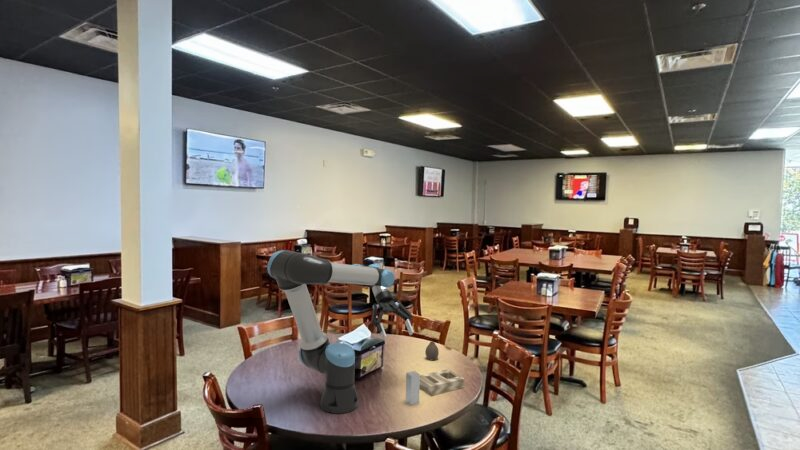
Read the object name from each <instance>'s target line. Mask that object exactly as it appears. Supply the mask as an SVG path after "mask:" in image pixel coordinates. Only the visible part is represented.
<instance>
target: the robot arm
mask: <svg viewBox="0 0 800 450" xmlns="http://www.w3.org/2000/svg"><path fill="white" fill-rule="evenodd" d="M266 268H267V273H268V275H269V276H270V277H271V278H272V279H275V281H276V283H277V287H278V288H279V290H280V291H282V292H284V293H285V297H286V299H287V301H288V304H289V307H290V310H291V312H292V315H293V318H294V321H295V323H296V327H297V329H298V332H299V335H300V338H301V340H300V343H299V346H300V347H299V350H298V358H299V361H300V362H301V363H302V364H303V365H304V366H306V367H307V368H309V369H312V370H314V371H316V372H318V373H321V374H323V375H324V388H323V391H322V394H321V397H320V401H319V402H320V403H319V404H320V409H321V410H323V411H325V412H326V411H327V413H329V412H331V414H346V413H350V412H352V411H354V410H356V409H357V408H358V406H359V396H358V393H357V390H356V385H355V377H356V375H355V374H356V373H355V372H356V371H355V358H356V352H355V350H354V349H355V348H353V347H352V346H351V345H350V344H347V343H341V342H333V343H330V340H329V338H328V334H327V333H326V332H323V331H322V328H321V324H320V322H319V320H318V316H317V313H316V311H315V310H316V309H315V308H314V304H313V300H312V298H311V294H310V292H309V290H308V287H307V285H327V284H328V283H335V284H336V283H338V284H351V285H363V286H364V285H365V286H370V287H371V290H372V293H373V296H374V298H375V301H376V302H375V303H373V305H372V316H371V321H370V323H371V326H374V328H376V330H377V332H378V333H380V335H381V339H382V340H385V339H386V338H387V337H388V336H387V334H386V331H385V328H384V325H383V323H382V322H381V320H382V318H383V316H384V314H391V313H393V314H395V315H397V316H398V317H400V318H401V319H402V320H404V321H405V322H404V324H405V326H406V329H407V331H408V334H409V336H412V335H413V334H414V332H415V331H414V328H413V323H412V320H411V319H413V317H414V316H413V314H412V313H411V312H410V311H409V310H408V309H407V308H406V307H405V306H404V304H402V302H401V300H398V301H396V302H395V301H394V297H393V294H392V292H391V290H390V288H391V287H392V286H393V285H394V283H395V279H396V277H395V276H396V275H395V273H394V272H393V270H390V269H387V268H381V266H380V264H378V263H372V264H369V265H363V264H360V263H353V264H346V263H337V262H331V261H330V260H329V259H326V258H321V257H317V256H314V255H311V254H309V253H304V252H299V251H298V252H297V251H291V250H289V249H286V250H285V249H284V250H283V249H282V250H278V251H276V252H274V253H272V254H271V256H270V257H269V261H267V266H266ZM378 309H379V310H380V312H379V314H377V313H378ZM377 315H379V316H378V318H377Z"/></svg>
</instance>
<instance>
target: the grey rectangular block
mask: <svg viewBox="0 0 800 450" xmlns="http://www.w3.org/2000/svg"><path fill="white" fill-rule="evenodd" d="M405 373H406V375H405V402H406V403H407V404H408V405H410V406H414V405H417V404H420V388H419V387H420V373H418V372H417V371H416V370H413V371H408V372H407V371H406V372H405Z"/></svg>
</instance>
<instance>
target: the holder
mask: <svg viewBox="0 0 800 450" xmlns="http://www.w3.org/2000/svg"><path fill="white" fill-rule="evenodd" d="M463 388H465V378H464V377H462V376H461V375H459V374H457V373H456V372H454V371H452V370H450V369H449V368H447V369H441V370H438V371H433V372H430V373H425V374H421V375H420V387H419V390H422V391H423V392H425V393H426V394H427V395H429V396H430V397H432V396H436V395H440V394H445V393H447V392H452V391H457V390H459V389H463Z"/></svg>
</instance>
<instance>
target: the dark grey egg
mask: <svg viewBox="0 0 800 450" xmlns="http://www.w3.org/2000/svg"><path fill="white" fill-rule="evenodd" d="M424 352H425V357H426V359H427V360H430V361H435V360H437V358H438V357H439V354H440V353H439V347H438V346H437V344H436V343H435V342H434V341H429V343H428V344H427V346H426V347H425V351H424Z"/></svg>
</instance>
